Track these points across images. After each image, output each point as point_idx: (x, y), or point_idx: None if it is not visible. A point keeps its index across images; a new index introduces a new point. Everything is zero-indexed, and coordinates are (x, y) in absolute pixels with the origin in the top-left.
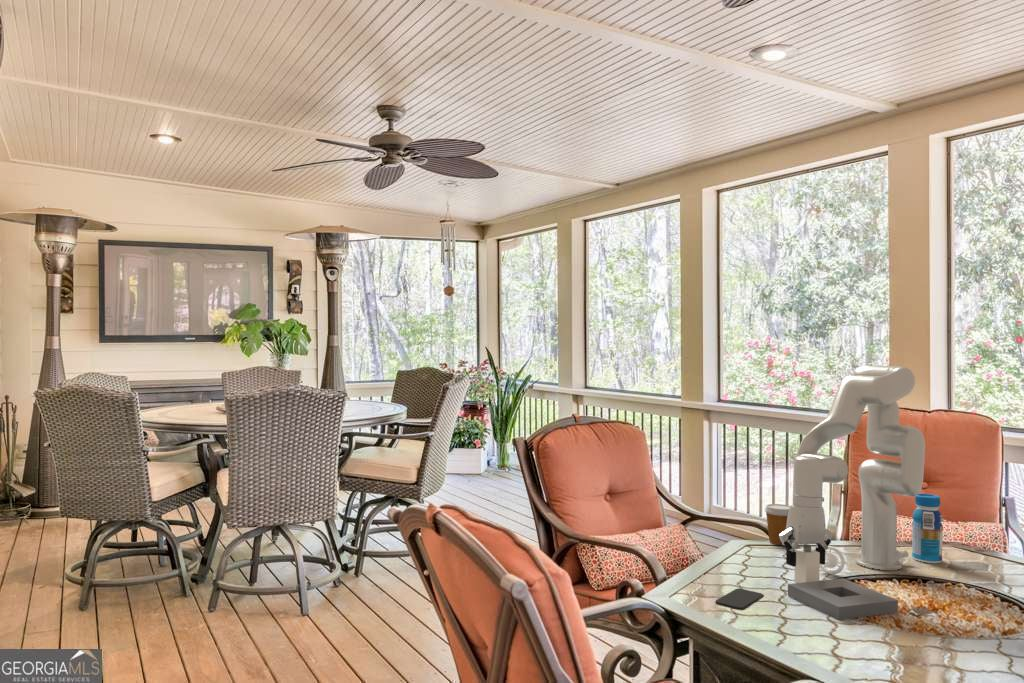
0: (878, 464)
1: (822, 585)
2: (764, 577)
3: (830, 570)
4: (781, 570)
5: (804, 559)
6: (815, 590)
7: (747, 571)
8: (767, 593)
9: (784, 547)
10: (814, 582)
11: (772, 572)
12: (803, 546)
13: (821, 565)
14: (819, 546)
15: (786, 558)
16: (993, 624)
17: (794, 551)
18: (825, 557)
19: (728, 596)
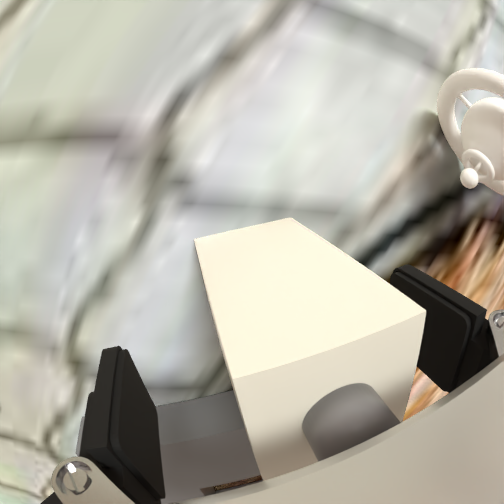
0: None
1: (225, 467)
2: (46, 146)
3: (458, 137)
4: (240, 9)
5: (245, 428)
6: (167, 497)
7: (15, 33)
8: (11, 387)
9: (54, 478)
10: (211, 444)
11: (153, 39)
12: (323, 453)
13: (452, 102)
14: (481, 363)
15: (88, 406)
16: None
17: (151, 501)
18: (494, 147)
19: None
